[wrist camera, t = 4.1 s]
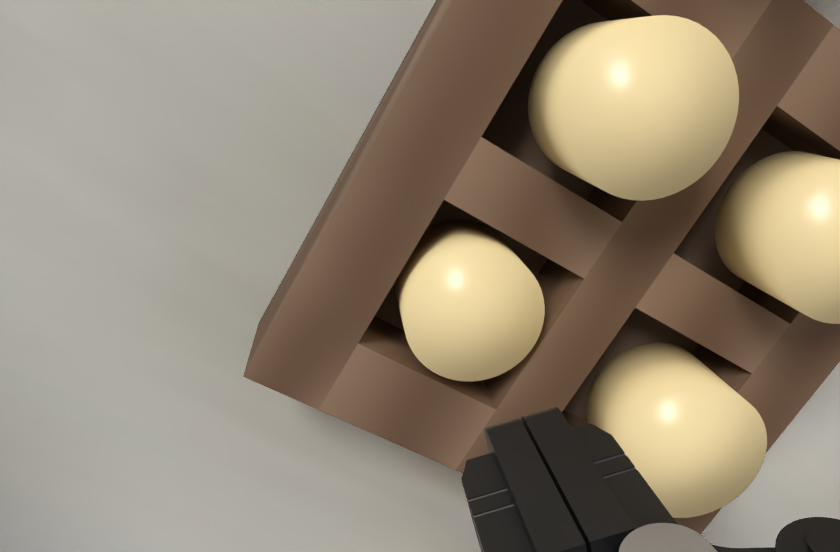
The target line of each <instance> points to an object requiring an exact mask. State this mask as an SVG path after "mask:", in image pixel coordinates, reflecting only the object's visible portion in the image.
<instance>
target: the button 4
mask: <svg viewBox="0 0 840 552" xmlns="http://www.w3.org/2000/svg"><path fill="white" fill-rule="evenodd" d="M715 241H716V247H717V250H718V253H719V255H720V257H721V259H722V261H723V263H724V264H725V266H726V267H727V268H728V269H729V270H730V271H731V272H732V273H733V274H735V275H736V276H737V277H739V278H741V279H742V280H744V281H746V282H748V283H750V284H751V285H753V286H755V287H757V288H758V289H760V290H762V291H764V292H766V293H767V294H769V295H771V296H773V297H774V298H776V299H778V300H780V301H781V302H783V303H785V304H787V305H789V306H790V307H792V308H794V309H796V310H797V311H799V312H801V313H803V314H804V315H806V316H808V317H810V318H812V319H814V320H817V321H820V322H824V323H830V324H840V160H839V159H834V158H830V157H825V156H820V155H816V154H811V153H806V152H802V151H786V152H781V153H776V154H773V155H770V156H767V157H765V158H763V159H761V160H759V161H757V162H756V163H754V164H753V165H751V166H750V167H749V168H747V169H746V170H745V171H744V172H743V173H742V174H741V175H740V176H739V177H738V178H737V179H736V180H735V181H734V182H733V184H732V185H731V186H730V188H729V189H728V191H727V192H726V194H725V196H724V198H723V200H722V202H721V204H720V207H719V210H718V213H717V217H716V222H715Z"/></svg>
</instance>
